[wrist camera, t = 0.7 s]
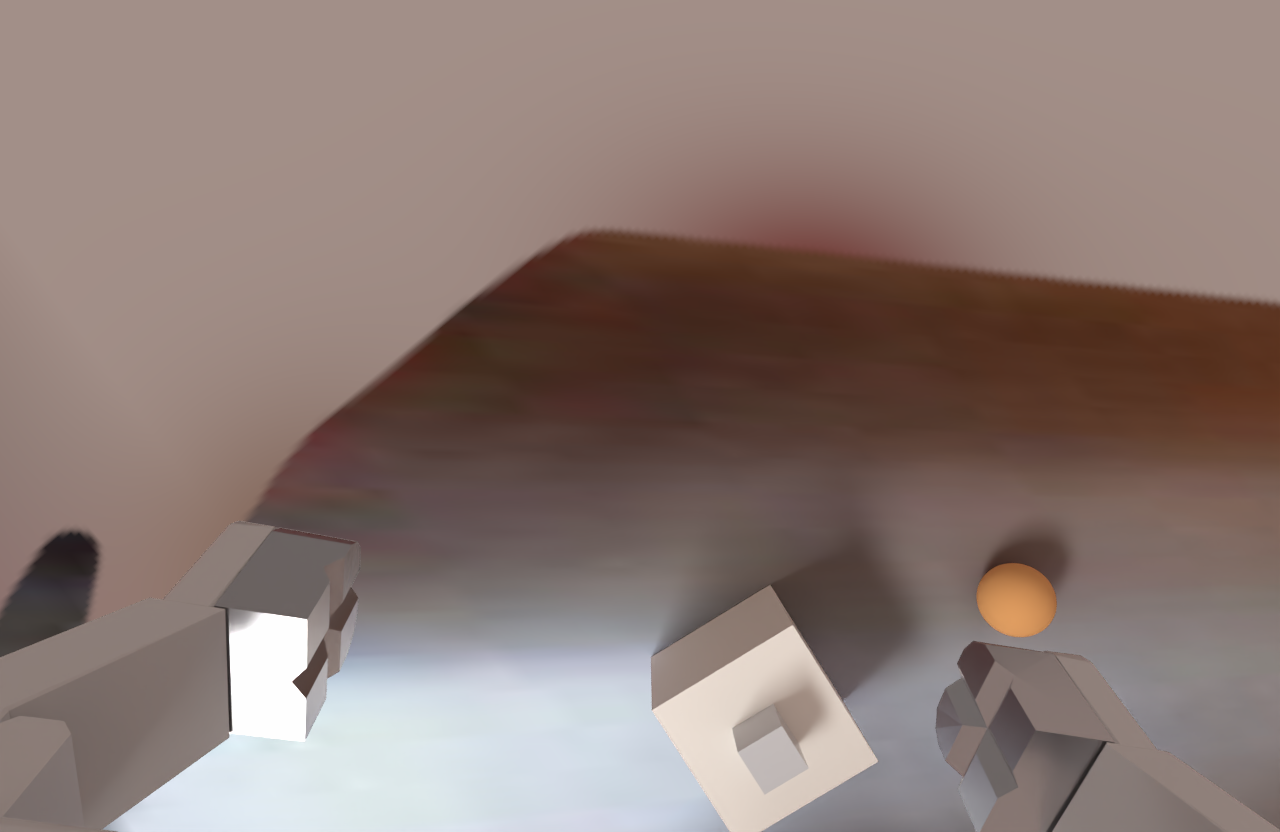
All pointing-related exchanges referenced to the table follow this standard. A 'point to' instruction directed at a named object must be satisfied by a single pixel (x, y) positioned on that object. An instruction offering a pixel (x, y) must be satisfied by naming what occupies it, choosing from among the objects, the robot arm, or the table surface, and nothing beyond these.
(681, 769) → the table surface
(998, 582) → the ball
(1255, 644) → the table surface
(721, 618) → the white box
